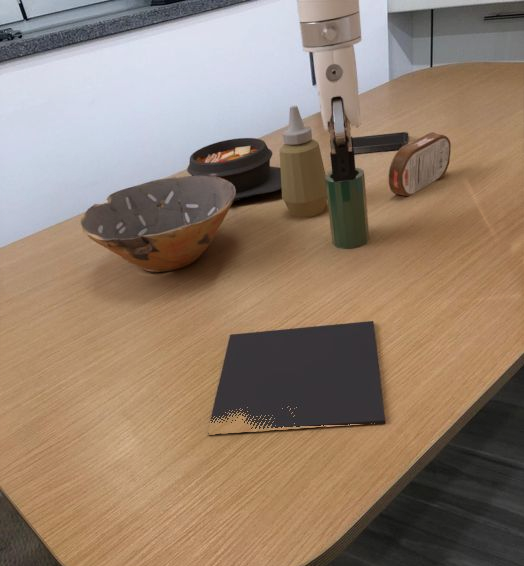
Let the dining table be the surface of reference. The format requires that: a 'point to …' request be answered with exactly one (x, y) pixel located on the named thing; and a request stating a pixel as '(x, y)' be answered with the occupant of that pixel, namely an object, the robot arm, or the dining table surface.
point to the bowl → (161, 220)
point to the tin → (419, 164)
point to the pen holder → (348, 211)
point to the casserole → (238, 166)
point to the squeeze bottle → (302, 170)
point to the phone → (380, 142)
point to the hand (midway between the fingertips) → (344, 171)
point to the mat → (302, 377)
